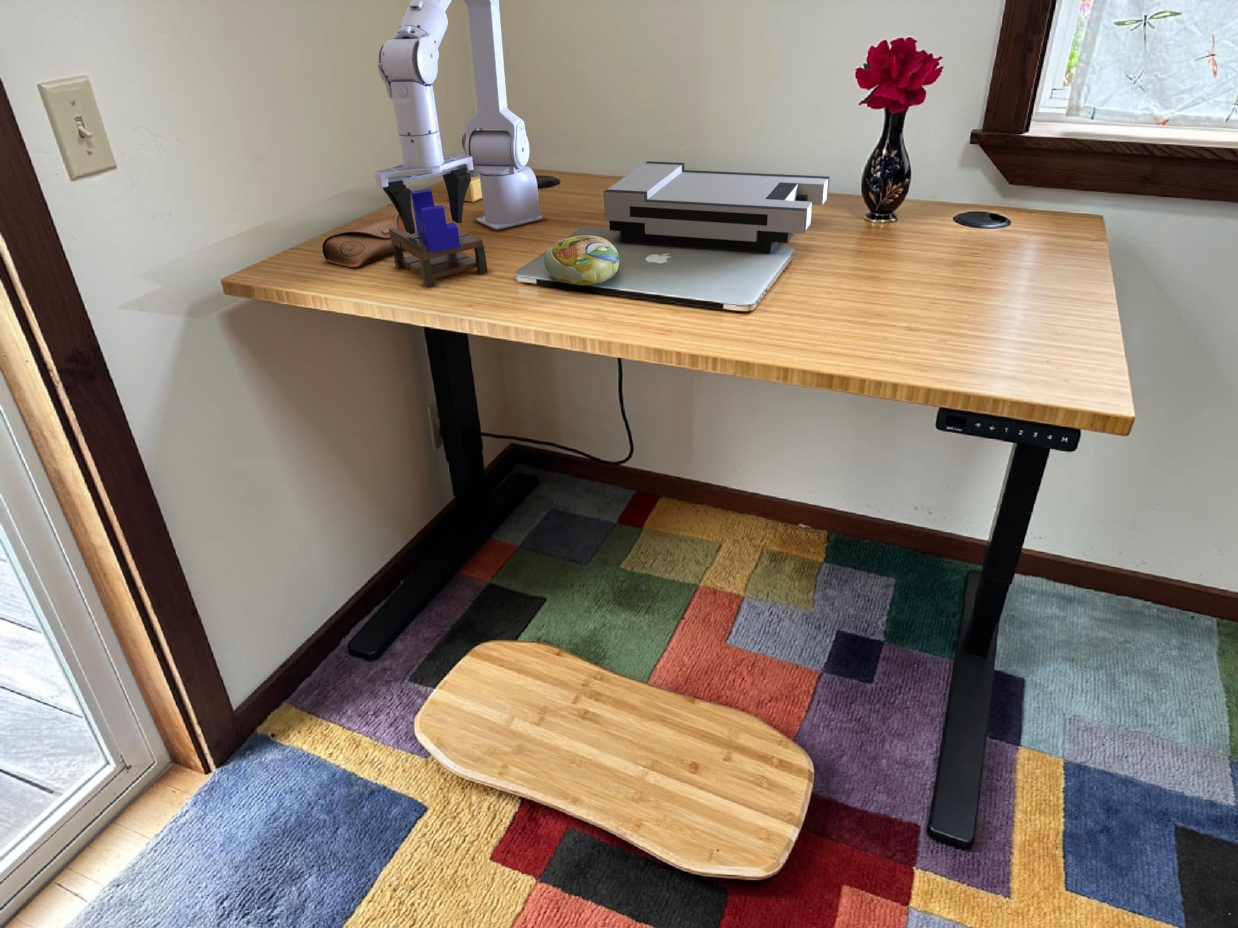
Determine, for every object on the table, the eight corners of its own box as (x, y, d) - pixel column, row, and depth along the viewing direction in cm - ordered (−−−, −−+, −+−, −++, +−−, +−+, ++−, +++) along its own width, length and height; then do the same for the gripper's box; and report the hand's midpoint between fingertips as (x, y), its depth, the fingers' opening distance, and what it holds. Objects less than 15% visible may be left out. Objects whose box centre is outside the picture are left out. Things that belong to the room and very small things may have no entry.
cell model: (620, 242, 133) (625, 233, 118) (612, 292, 135) (615, 290, 120) (551, 230, 133) (546, 220, 118) (543, 281, 134) (538, 277, 119)
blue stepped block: (460, 247, 126) (454, 206, 123) (429, 252, 125) (422, 210, 122) (445, 226, 136) (439, 187, 133) (417, 230, 135) (410, 191, 132)
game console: (802, 257, 131) (805, 203, 126) (606, 242, 141) (603, 191, 137) (826, 218, 147) (830, 169, 143) (648, 208, 158) (647, 161, 153)
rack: (453, 253, 140) (447, 215, 137) (487, 272, 132) (482, 232, 128) (395, 267, 136) (388, 228, 132) (427, 288, 127) (420, 246, 124)
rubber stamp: (473, 202, 167) (464, 137, 160) (450, 199, 169) (440, 135, 163) (504, 189, 174) (497, 126, 168) (481, 187, 177) (473, 125, 170)
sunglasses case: (358, 266, 135) (335, 227, 134) (337, 282, 140) (316, 244, 139) (440, 235, 147) (421, 199, 146) (419, 251, 152) (400, 216, 151)
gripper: (381, 144, 117) (399, 243, 124) (477, 128, 124) (489, 222, 131) (362, 137, 122) (380, 232, 129) (455, 121, 129) (468, 213, 136)
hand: (434, 227), depth 130 cm, fingers open, 7 cm apart
